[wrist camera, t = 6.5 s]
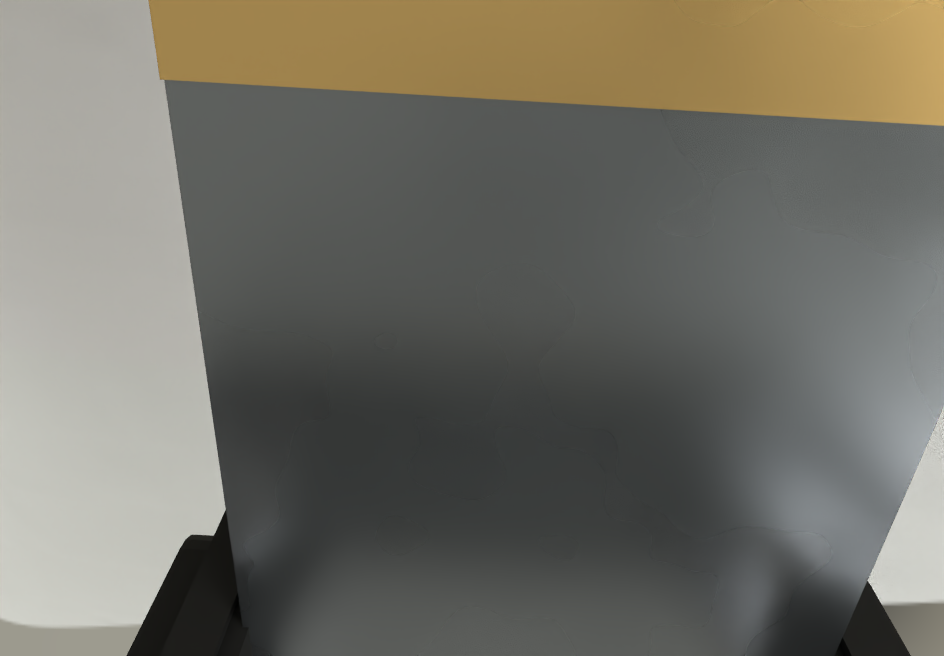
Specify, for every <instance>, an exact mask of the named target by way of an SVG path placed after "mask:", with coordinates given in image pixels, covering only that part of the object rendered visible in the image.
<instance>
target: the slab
mask: <svg viewBox="0 0 944 656" xmlns="http://www.w3.org/2000/svg"><path fill="white" fill-rule="evenodd" d="M149 7H150V14H151V21H152V27H153V34H154V41H155V48H156V55H157V62H158V68H159V75H160V79H161V80H165V87H166V94H167V101H168V108H169V115H170V122H171V129H172V136H173V143H174V150H175V157H176V164H177V171H178V178H179V185H180V192H181V199H182V206H183V213H184V220H185V227H186V234H187V241H188V248H189V255H190V262H191V269H192V276H193V283H194V290H195V297H196V304H197V311H198V318H199V325H200V332H201V339H202V346H203V353H204V360H205V367H206V374H207V381H208V388H209V395H210V401H211V408H212V415H213V422H214V429H215V436H216V443H217V450H218V457H219V464H220V471H221V478H222V485H223V492H224V499H225V506H226V513H227V520H228V527H229V534H230V541H231V548H232V555H233V562H234V569H235V576H236V583H237V590H238V597H239V604H240V611H241V618H242V625H243V627H249V633H250V640H251V647H252V654H253V656H834V655H835V653H836V651H837V649H838V646H839V644H840V642H841V640H842V637H843V635H844V633H845V630H846V628H847V626H848V624H849V621H850V619H851V617H852V614H853V612H854V610H855V608H856V605H857V603H858V601H859V599H860V596H861V594H862V592H863V589H864V587H865V585H866V583H867V580H868V578H869V576H870V573H871V571H872V569H873V567H874V564H875V562H876V560H877V557H878V555H879V553H880V551H881V548H882V546H883V544H884V542H885V539H886V537H887V535H888V532H889V530H890V528H891V526H892V523H893V521H894V519H895V516H896V514H897V512H898V510H899V507H900V505H901V503H902V501H903V498H904V496H905V494H906V491H907V489H908V487H909V485H910V482H911V480H912V478H913V475H914V473H915V471H916V469H917V466H918V464H919V462H920V460H921V457H922V455H923V453H924V450H925V448H926V446H927V444H928V441H929V439H930V437H931V434H932V432H933V430H934V428H935V425H936V423H937V421H938V418H939V416H940V414H941V412H942V409H943V407H944V0H149Z"/></svg>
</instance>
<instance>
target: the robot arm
mask: <svg viewBox="0 0 944 656" xmlns="http://www.w3.org/2000/svg"><path fill="white" fill-rule="evenodd" d="M127 656H253V654H252V647H251V640H250V633H249V627H243V625H242V618H241V611H240V604H239V597H238V590H237V583H236V576H235V569H234V562H233V555H232V548H231V541H230V534H229V527H228V520H227V513H226V511H225V513H224V515H223V517H222V519H221V522H220V524H219V526H218V528H217V530H216V533H215V535H214V536H207V535H191V536H189V537H188V538H187V539H186V540H185V541H184V543H183V545H182V546H181V548H180V550H179V552H178V554H177V556H176V558H175V560H174V562H173V564H172V566H171V568H170V570H169V572H168V574H167V576H166V578H165V580H164V582H163V584H162V586H161V588H160V590H159V592H158V594H157V596H156V598H155V600H154V602H153V604H152V606H151V608H150V610H149V612H148V614H147V616H146V618H145V620H144V622H143V624H142V626H141V628H140V630H139V632H138V634H137V636H136V638H135V640H134V642H133V644H132V646H131V648H130V650H129V652H128V654H127ZM834 656H911V655H910V654H909V652H908V650H907V648H906V647H905V645H904V643H903V641H902V640H901V638H900V636H899V634H898V633H897V631H896V629H895V627H894V626H893V624H892V622H891V620H890V619H889V617H888V615H887V613H886V612H885V610H884V608H883V606H882V605H881V603H880V601H879V599H878V598H877V596H876V594H875V592H874V591H873V589H872V587H871V585H870V584H869V583H868V581H867V583H866V585H865V587H864V589H863V592H862V594H861V596H860V599H859V601H858V603H857V605H856V608H855V610H854V612H853V614H852V617H851V619H850V621H849V624H848V626H847V628H846V630H845V633H844V635H843V637H842V640H841V642H840V644H839V646H838V649H837V651H836V653H835V655H834Z"/></svg>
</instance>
